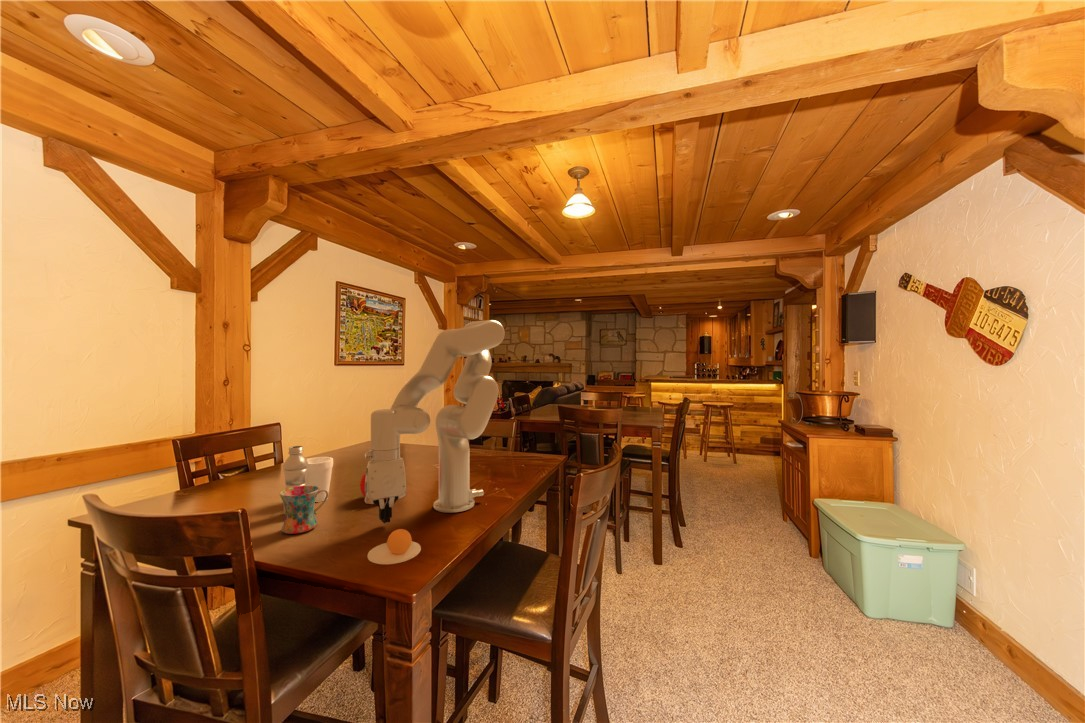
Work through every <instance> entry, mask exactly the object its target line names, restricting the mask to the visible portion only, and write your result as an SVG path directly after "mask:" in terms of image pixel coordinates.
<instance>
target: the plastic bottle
mask: <svg viewBox="0 0 1085 723" xmlns="http://www.w3.org/2000/svg"><path fill="white" fill-rule="evenodd" d="M287 453H288V455H289V456H288V457H287V458H286V460H285V461H284V463H283V474H284V480H285V489H288V488H292V487H297V486H306V476H307V469H308V462H307V460H306V459H307V458H306V457H305V456H304V455H303V453H304V446H302V445H293V446H290V447H289V448H288V452H287ZM282 509H283V513H284V514H285V507H284V504H283V507H282Z"/></svg>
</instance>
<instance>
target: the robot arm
mask: <svg viewBox="0 0 1085 723" xmlns="http://www.w3.org/2000/svg"><path fill="white" fill-rule="evenodd" d="M505 333H506V330H505V328H504V326H503V325H502V323H501V322H499V321H498V320H495V319H487V320H477V321H476V320H475V321H471V322H469V323H467V324H465V325H464V326H463V327H461V328H451V329H445V330H443V331H441V332H440V333H438V335H437V336H436V338H435V339H434V341H433V343H432V345H431V348H430V349H429V351H428V354H427V355H426V357H425V359H424V361H423V362H422V365H421V367H420V368H419V370H418V372H416V374H414V375H413V376H412V377H411V378H410V379H409V381H407V383H405V385H404V386H403V387H401V390H400V391H398V393H397V396H396V398H395V399H394V400H393V403H392V405H391V407H390V408H384V409H376V410H373V412H371V415H370V449H369V451H367V452H365V453H364V457H365V458H364V459H367V458H368V459H369V460H368V461H367V465H366V472H365V473H366V479H365V494H366V496H364V502H365V504H367V505H368V504H369V505H374V506H377V507H378V518H379V520H380V521H381V522H382V523H383V524H386V523H390V522H391V518H392V517H393V507H394V504H395V503H396V502H397V501H398V500H400V499H402V498H404V497H405V496H407V495H406V493H407V478H406V476H407V474H406V467H405V462H404V458H403V457H401V443H400V442H401V435H418V434H419V435H420V434H422V433H424V432H425V431H426V430H427V429H428V428H429V426H430V423H431V417H430V414H429V413H428V412H427V411H426V410H425V409H423V408H421V407H420V408H419V407H418V406H419V404H420V402H422V400H423V399H424V397H425V396H427V395H428V394H430V393H432V392H433V391H435V390H437V389H438V388H440V387H442V386H443V385H445V384H446V383H447V380H448V378H449V376H450V374H451V372H452V370H453V368H454V366H455V364H456V362H457V360H458V358H461V357H465V358H466V359H465V362H464V366H463V367H462V370H461V372H460V374H459V376H458V378H457V379H456V382H455V384H454V388H453V392H452V393H453V397H454V399H455V400H456V401H457V402H459V403H461V404H465V406H463V405H458V404H448V405H446V406H443V407H441V409H439V411H438V412H437V414H436V416H435V430H436V434H437V435H436V436H437V442H438V499H437V500H435V501H434V502H433V505H432V506H433V509H434V510H435V511H437V512H439V513H447V514H448V513H449V514H451V513H460V512H461V513H462V512H464V511H465V512H466V511H468V510H471V509H472V508H474V506H475V497H483V496H484V493H485V492H484V490H483V488H481V489H478V490H477V489H476V488H473V489H471V488H470V485H471V484H470V481H471V480H470V478H471V477H470V475H471V473H470V471H471V470H470V454H471V453H470V452H471V451H470V443H469V440H475V439H477V438H479V437H480V436H481V435H482V434H483V432H485V429H486V427H487V426H488V423H489V421H490V418H491V417H492V413H493V411H494V409H495V406H496V404H497V401H498V397H499V387H498V386H499V385H498V383H497V381H496V380H495V379H494V378H493V377H491V376H489V373H490V371H491V368H492V364H493V362H492V356H491V353H490V350H491V349H493V348H496V347H498V346H499V345H500V344H502V343H503V340H504V339H505V336H506V335H505ZM384 498H387V499H386V503H385V500H384Z"/></svg>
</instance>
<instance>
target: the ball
mask: <svg viewBox="0 0 1085 723" xmlns="http://www.w3.org/2000/svg"><path fill="white" fill-rule="evenodd" d="M412 541H413V538H412V534H411V532H409V531H408V530H407V529H404V528H398V529H395V530H393V531H392V532H391V533H390V534H389V536H388V538H387V540H386V543H387V546H388V549H389V550H390V551H391V552H392V553H394V554H402V553H404V552H406V551H407V550H408V549H409V547H410V545H411V542H412Z"/></svg>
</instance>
